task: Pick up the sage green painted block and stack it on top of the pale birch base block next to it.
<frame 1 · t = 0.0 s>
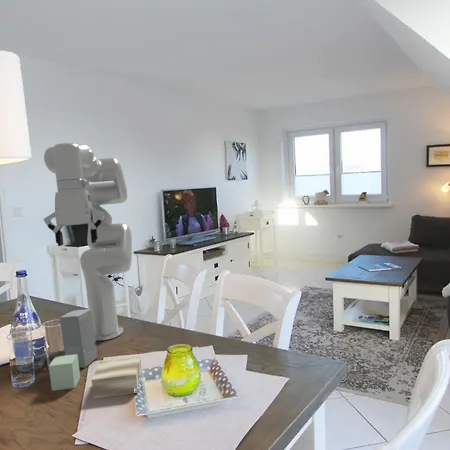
hand: (77, 243, 126), 37 cm above the table, tool pointing down, fingers open, 9 cm apart
skincare box: (82, 362, 130), on the table
base block: (119, 385, 113), on the table
sage block: (66, 384, 116), on the table
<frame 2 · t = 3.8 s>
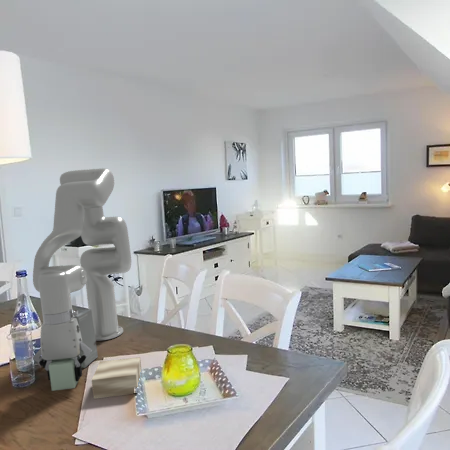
hand: (65, 380, 116), 1 cm above the table, tool pointing down, fingers closed on sage block, 6 cm apart
sage block: (66, 384, 116), on the table, touching gripper
everything else where it was.
when the fingers open (7 cm above the table, at t = 9.9 s): sage block drops 1 cm, resting on base block.
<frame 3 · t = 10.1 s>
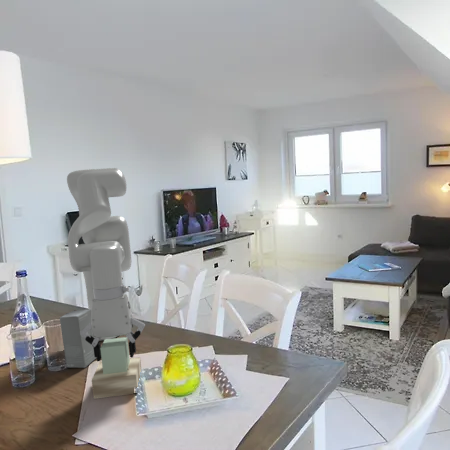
hand: (115, 357, 112), 8 cm above the table, tool pointing down, fingers open, 8 cm apart
sage block: (117, 367, 112), point 5 cm above the table, touching base block
everything else where it was.
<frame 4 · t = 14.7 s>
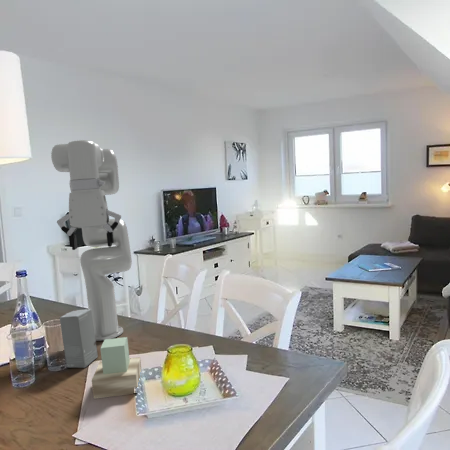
hand: (92, 247, 118), 36 cm above the table, tool pointing down, fingers open, 9 cm apart
nothing on the table moved.
at the end: sage block inside the target area on the base block (0.0 cm from its centre), point 5.0 cm above the base block's base; sage block tilted 0°; the gripper is holding nothing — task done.
